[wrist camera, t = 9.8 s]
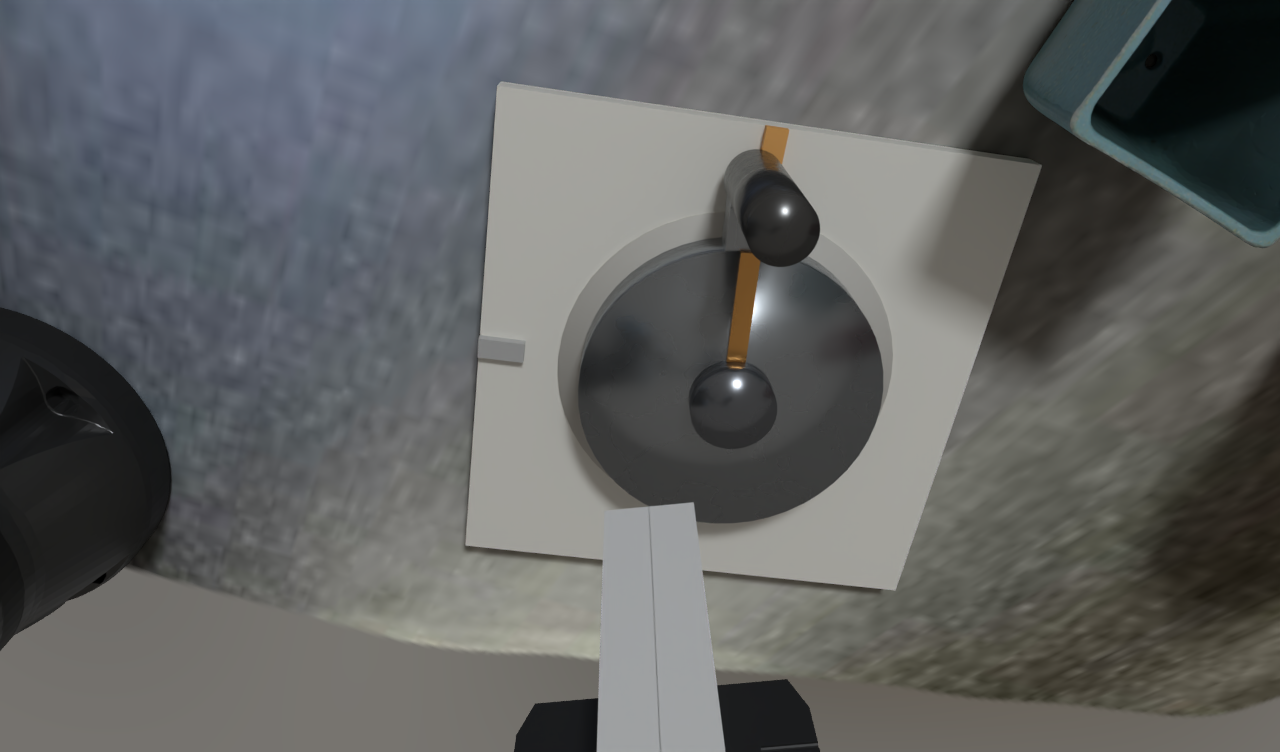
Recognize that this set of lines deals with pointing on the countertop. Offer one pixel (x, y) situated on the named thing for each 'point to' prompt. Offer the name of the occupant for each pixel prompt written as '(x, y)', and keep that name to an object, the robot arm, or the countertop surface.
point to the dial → (733, 363)
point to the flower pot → (1175, 99)
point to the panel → (694, 210)
